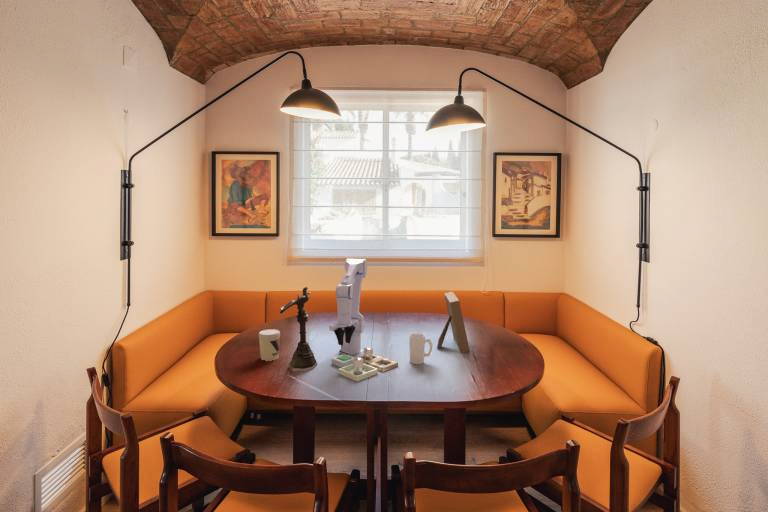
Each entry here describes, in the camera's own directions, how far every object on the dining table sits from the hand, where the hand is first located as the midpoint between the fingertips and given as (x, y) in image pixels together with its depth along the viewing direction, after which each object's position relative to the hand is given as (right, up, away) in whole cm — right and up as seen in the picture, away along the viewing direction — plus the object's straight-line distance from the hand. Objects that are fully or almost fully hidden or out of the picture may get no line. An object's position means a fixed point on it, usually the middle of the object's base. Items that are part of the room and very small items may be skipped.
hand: (344, 343), depth 175 cm
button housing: (0, -9, +1) cm, 9 cm away
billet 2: (+10, -9, +5) cm, 14 cm away
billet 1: (+7, -10, -9) cm, 15 cm away
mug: (+33, -9, +5) cm, 35 cm away
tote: (+7, -11, -9) cm, 16 cm away
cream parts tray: (+13, -9, +2) cm, 16 cm away
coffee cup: (-34, -8, +9) cm, 36 cm away
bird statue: (-20, -10, -2) cm, 22 cm away
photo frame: (+50, -7, +29) cm, 58 cm away
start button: (0, -9, +1) cm, 9 cm away
